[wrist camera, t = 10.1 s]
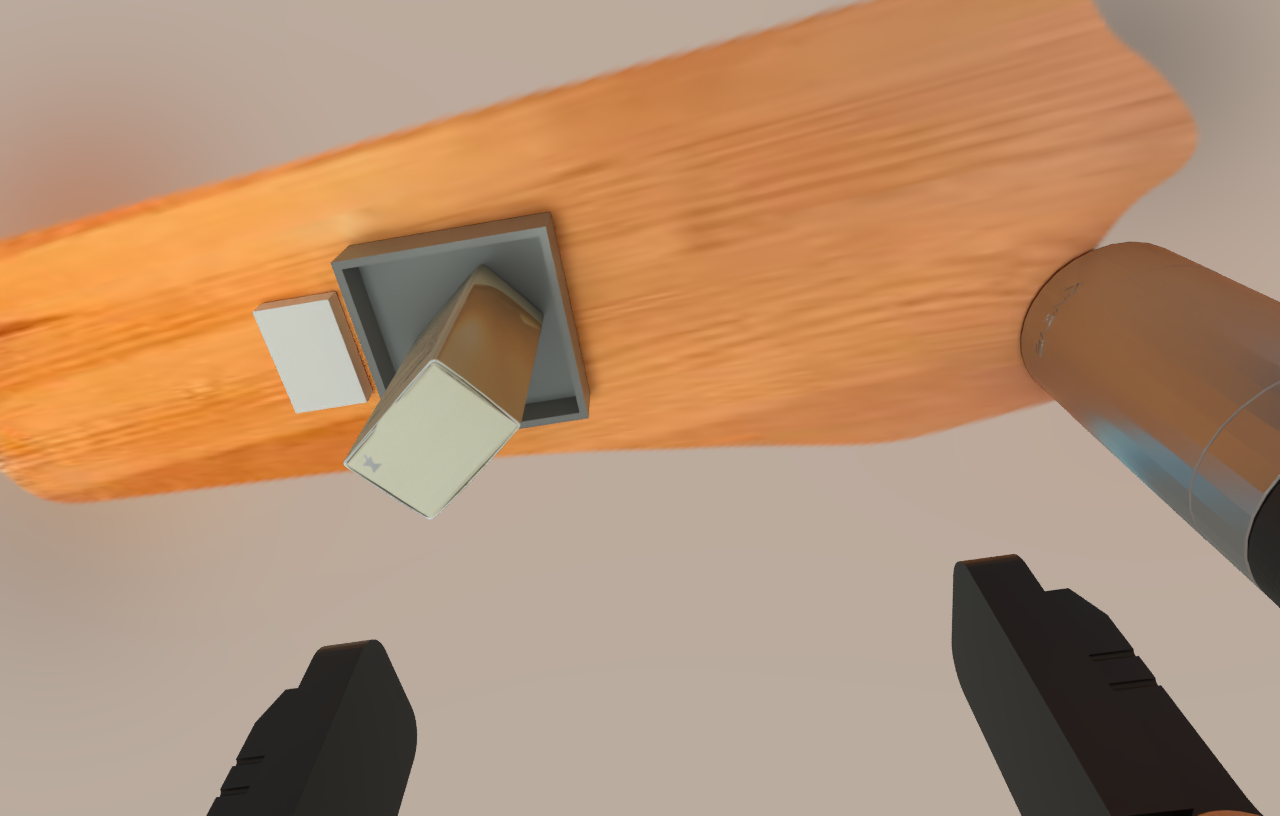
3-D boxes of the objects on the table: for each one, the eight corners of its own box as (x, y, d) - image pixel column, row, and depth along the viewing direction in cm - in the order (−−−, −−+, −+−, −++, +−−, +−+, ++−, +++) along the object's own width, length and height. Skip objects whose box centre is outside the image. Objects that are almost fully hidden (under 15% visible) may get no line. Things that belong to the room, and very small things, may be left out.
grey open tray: (550, 211, 38) (545, 226, 35) (590, 393, 43) (588, 418, 40) (245, 263, 39) (219, 281, 36) (318, 436, 44) (300, 462, 41)
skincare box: (476, 392, 42) (427, 530, 31) (410, 344, 40) (334, 470, 30) (551, 310, 40) (526, 428, 29) (484, 256, 38) (431, 358, 27)
